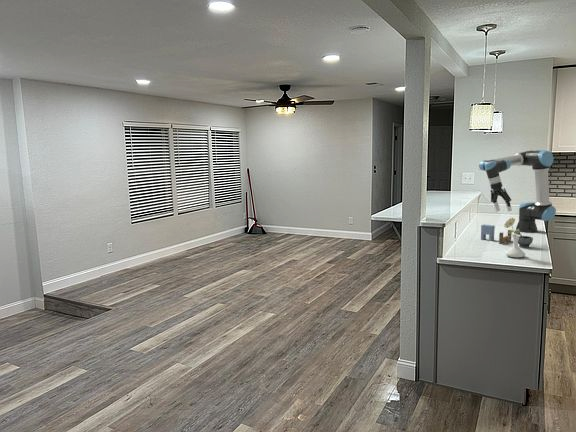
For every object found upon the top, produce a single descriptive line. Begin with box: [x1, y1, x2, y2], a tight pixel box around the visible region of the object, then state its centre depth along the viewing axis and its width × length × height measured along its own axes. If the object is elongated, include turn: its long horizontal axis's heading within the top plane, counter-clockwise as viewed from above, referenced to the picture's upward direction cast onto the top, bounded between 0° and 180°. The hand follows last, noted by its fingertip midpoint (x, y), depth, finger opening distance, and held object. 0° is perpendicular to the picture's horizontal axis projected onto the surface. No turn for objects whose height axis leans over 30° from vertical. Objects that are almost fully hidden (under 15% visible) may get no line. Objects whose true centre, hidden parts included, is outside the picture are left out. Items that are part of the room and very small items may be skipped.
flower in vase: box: [503, 217, 526, 258], centre depth 272 cm, size 13×11×25 cm
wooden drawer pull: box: [498, 229, 513, 245], centre depth 312 cm, size 15×2×8 cm, turn 129°
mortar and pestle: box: [514, 229, 534, 249], centre depth 297 cm, size 11×9×12 cm
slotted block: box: [480, 224, 496, 242], centre depth 322 cm, size 4×8×11 cm, turn 39°
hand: (504, 211), depth 312 cm, fingers open, 13 cm apart
